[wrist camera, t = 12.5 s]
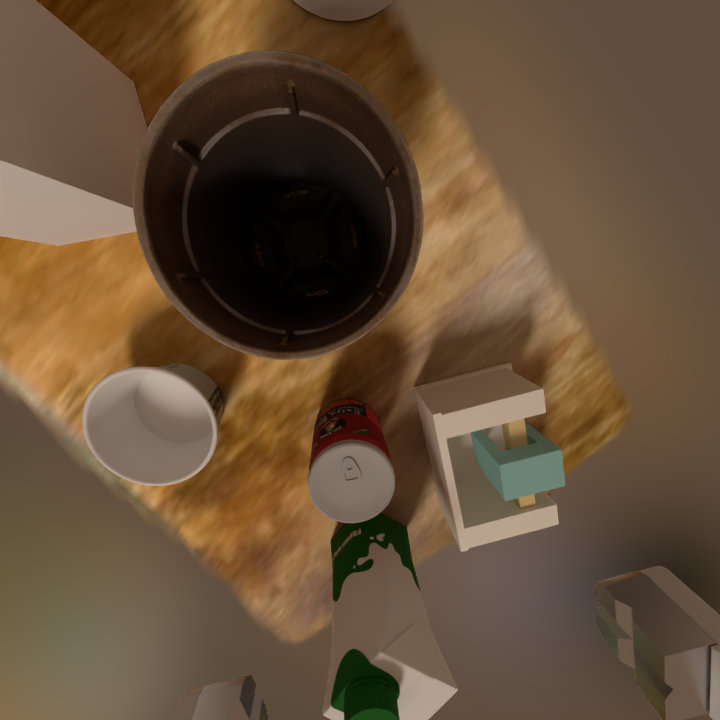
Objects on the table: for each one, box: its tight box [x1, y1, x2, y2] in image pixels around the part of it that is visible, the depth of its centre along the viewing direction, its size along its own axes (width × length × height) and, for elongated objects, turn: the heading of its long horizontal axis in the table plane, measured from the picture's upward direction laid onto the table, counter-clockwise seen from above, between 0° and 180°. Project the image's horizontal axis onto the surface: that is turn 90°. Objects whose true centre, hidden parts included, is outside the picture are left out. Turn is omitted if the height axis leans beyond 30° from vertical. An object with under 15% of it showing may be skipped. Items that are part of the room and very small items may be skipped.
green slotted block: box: [471, 421, 565, 501], centre depth 36 cm, size 4×6×7 cm, turn 104°
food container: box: [82, 364, 223, 486], centre depth 35 cm, size 12×12×6 cm
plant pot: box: [133, 51, 423, 360], centre depth 27 cm, size 16×16×16 cm
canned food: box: [308, 399, 395, 523], centre depth 35 cm, size 8×8×11 cm
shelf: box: [414, 362, 559, 552], centre depth 38 cm, size 16×11×8 cm
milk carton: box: [323, 512, 458, 720], centre depth 35 cm, size 9×9×20 cm
